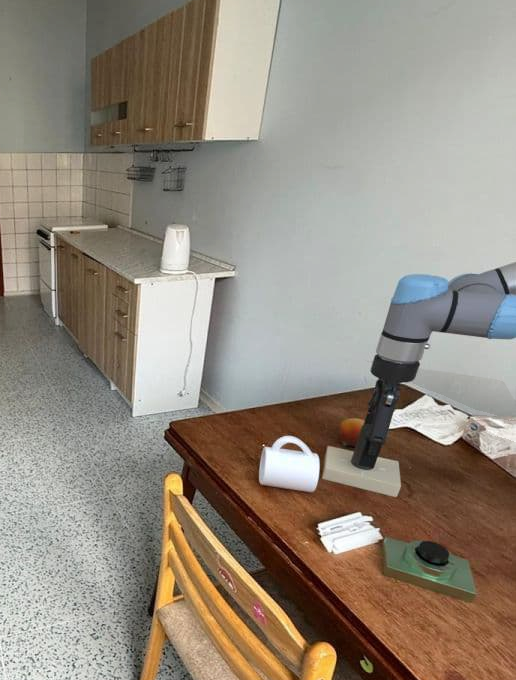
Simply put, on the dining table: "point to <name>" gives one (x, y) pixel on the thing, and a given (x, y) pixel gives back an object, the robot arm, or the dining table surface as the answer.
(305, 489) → the mug
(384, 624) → the dining table surface
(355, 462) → the dark grey cylinder
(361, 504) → the dining table surface
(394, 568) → the button box
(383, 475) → the panel
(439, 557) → the button
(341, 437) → the fruit
